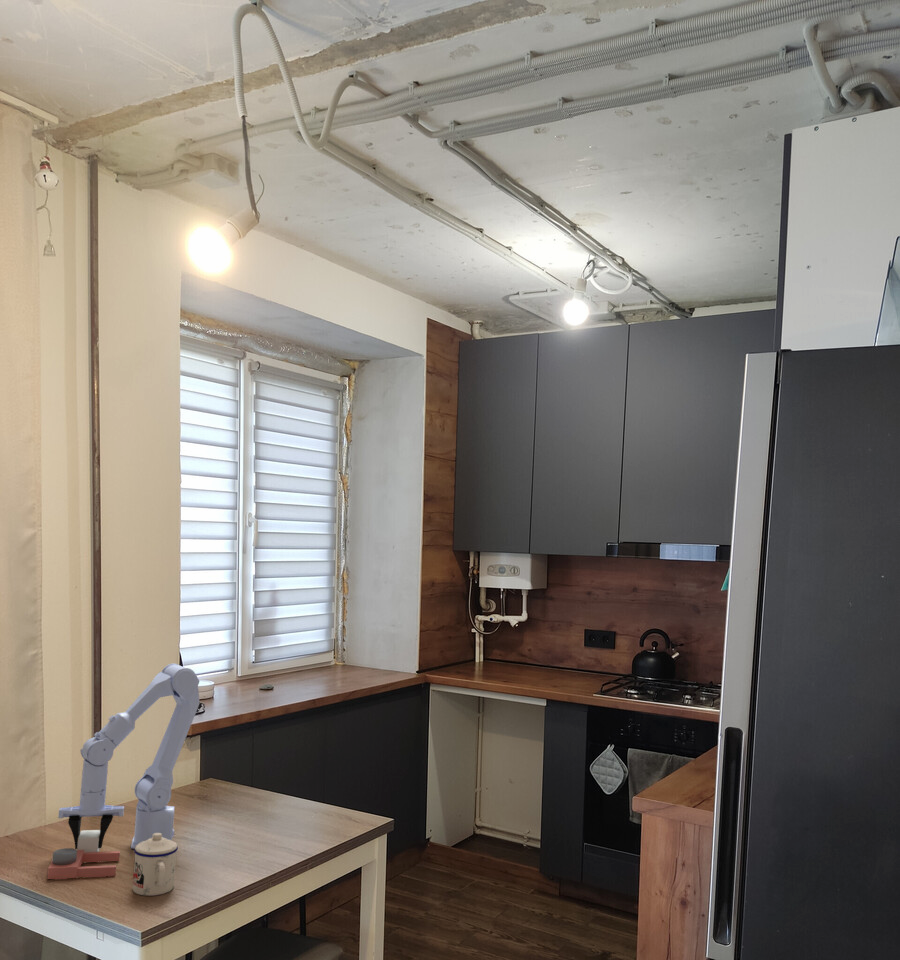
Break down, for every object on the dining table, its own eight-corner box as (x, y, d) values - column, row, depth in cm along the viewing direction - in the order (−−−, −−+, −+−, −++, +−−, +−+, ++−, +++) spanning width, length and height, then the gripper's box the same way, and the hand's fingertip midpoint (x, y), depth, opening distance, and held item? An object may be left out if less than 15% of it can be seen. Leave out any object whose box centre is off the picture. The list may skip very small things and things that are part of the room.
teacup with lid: (127, 884, 191) (131, 830, 192) (169, 878, 196) (173, 825, 197) (137, 904, 181) (142, 847, 182) (182, 898, 185) (186, 842, 186)
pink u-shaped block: (119, 859, 206) (121, 839, 206) (114, 876, 195) (116, 856, 195) (55, 862, 202) (57, 842, 202) (47, 879, 191) (49, 858, 192)
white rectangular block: (99, 848, 212) (101, 829, 212) (96, 857, 206) (98, 837, 207) (79, 849, 211) (81, 830, 211) (76, 858, 205) (78, 838, 205)
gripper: (126, 784, 215) (122, 840, 214) (63, 785, 212) (58, 842, 210) (124, 792, 209) (119, 850, 208) (59, 793, 205) (54, 852, 204)
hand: (88, 847), depth 209 cm, fingers closed on white rectangular block, 4 cm apart
